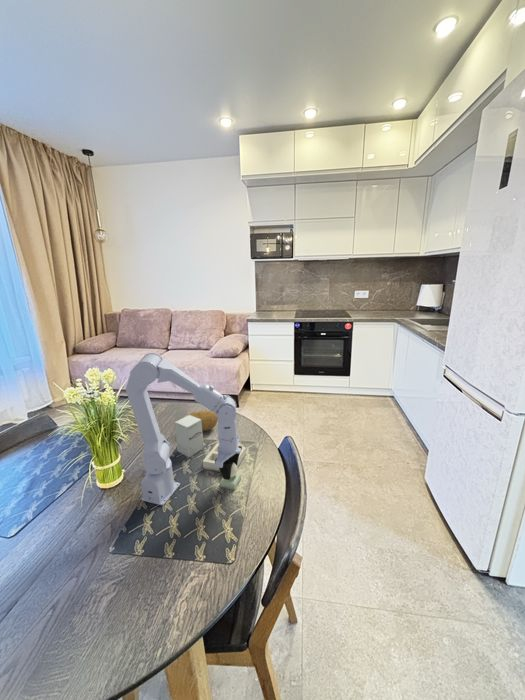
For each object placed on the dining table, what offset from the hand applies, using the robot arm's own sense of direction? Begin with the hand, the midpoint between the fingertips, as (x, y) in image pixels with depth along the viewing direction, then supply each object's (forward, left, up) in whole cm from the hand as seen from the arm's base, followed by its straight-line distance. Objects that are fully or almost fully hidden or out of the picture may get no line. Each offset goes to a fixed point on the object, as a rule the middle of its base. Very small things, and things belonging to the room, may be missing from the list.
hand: (230, 473), depth 96 cm
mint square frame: (0, 0, -4) cm, 4 cm away
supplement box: (+13, +22, -4) cm, 26 cm away
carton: (+10, +6, -4) cm, 12 cm away
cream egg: (0, 0, +1) cm, 1 cm away
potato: (+28, +25, -4) cm, 38 cm away
